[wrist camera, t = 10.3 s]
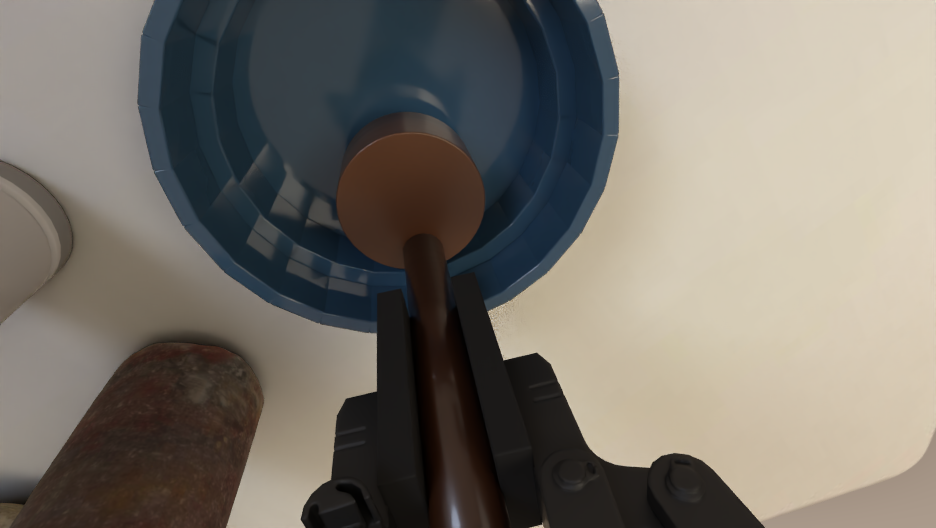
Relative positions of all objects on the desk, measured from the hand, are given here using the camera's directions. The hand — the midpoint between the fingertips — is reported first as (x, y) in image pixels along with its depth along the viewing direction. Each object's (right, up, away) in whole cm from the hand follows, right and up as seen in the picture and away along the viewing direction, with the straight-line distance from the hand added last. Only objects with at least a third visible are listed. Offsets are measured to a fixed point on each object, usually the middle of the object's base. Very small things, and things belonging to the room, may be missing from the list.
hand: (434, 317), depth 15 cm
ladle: (-2, +5, +5) cm, 8 cm away
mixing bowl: (-2, +8, +6) cm, 10 cm away
